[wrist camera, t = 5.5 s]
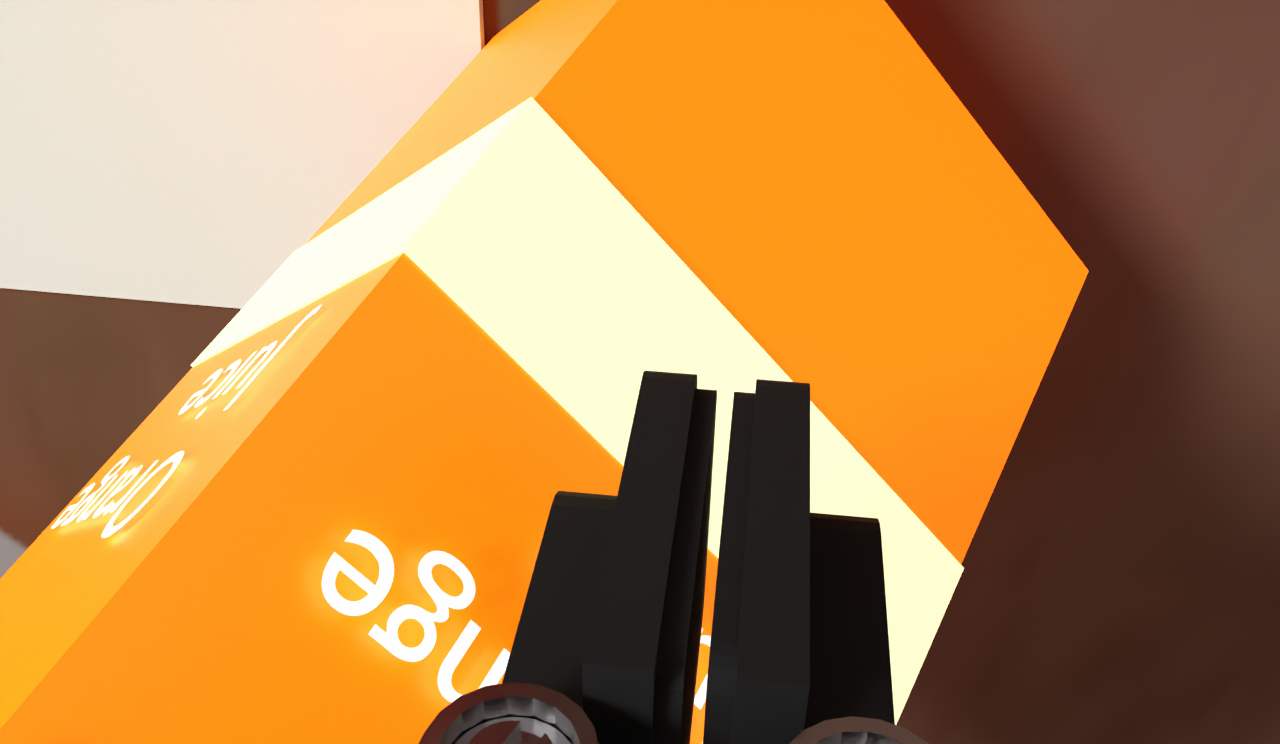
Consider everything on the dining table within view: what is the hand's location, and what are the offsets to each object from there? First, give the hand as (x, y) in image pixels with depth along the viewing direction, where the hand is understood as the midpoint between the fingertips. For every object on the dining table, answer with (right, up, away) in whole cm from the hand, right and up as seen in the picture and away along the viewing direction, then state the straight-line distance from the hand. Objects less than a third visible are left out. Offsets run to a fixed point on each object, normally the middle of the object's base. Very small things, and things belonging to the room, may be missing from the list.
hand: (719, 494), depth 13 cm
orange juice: (+2, +5, +9) cm, 11 cm away
